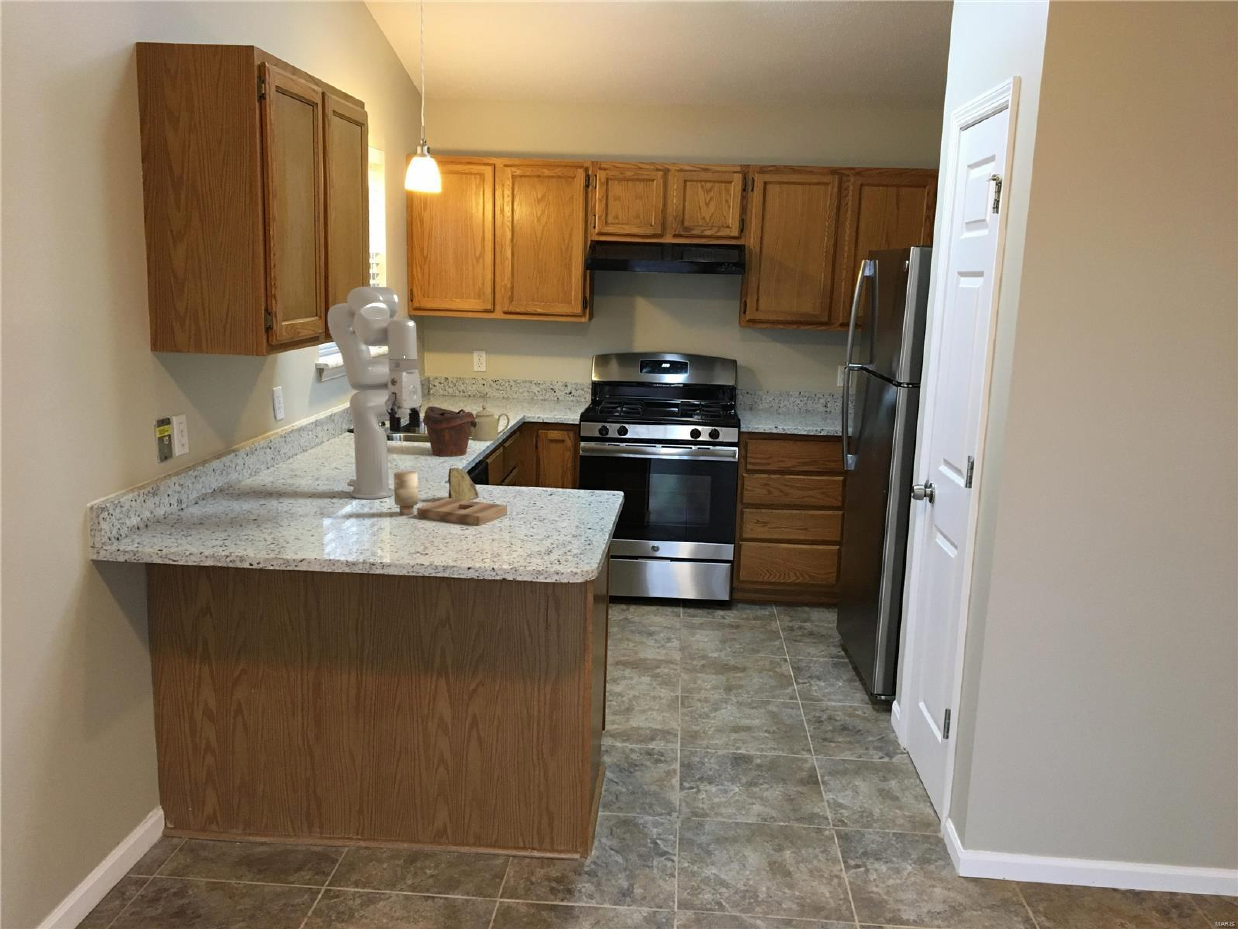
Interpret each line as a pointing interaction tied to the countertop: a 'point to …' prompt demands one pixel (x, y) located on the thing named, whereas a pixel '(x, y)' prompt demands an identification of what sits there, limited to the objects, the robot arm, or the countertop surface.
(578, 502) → the countertop surface
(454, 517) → the board
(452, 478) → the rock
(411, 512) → the peg
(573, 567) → the countertop surface
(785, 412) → the countertop surface
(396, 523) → the countertop surface
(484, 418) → the sugar bowl
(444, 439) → the brown tapered pot
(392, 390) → the robot arm
